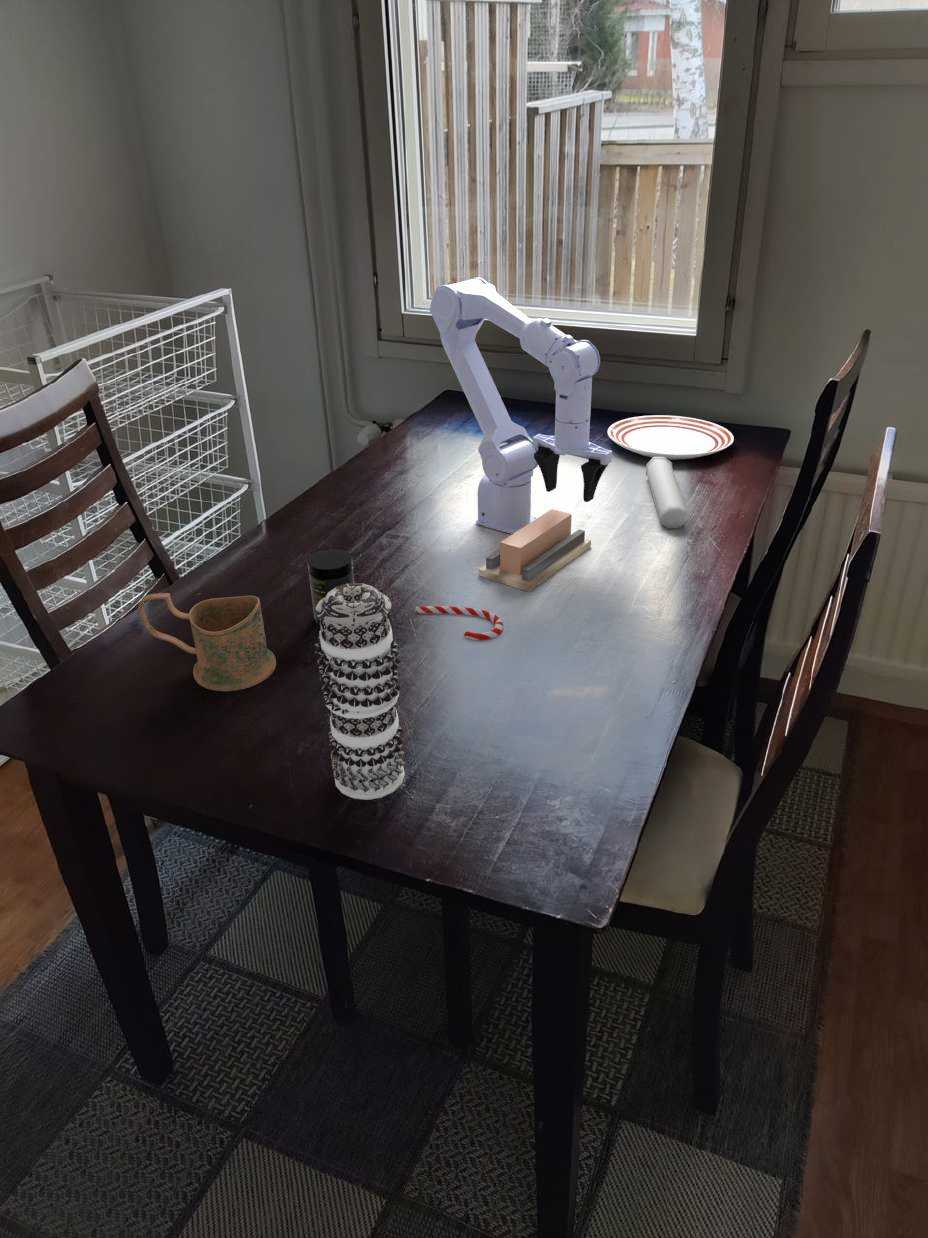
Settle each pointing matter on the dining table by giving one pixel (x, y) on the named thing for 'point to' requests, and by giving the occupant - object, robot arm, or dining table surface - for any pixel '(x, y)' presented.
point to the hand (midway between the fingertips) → (569, 494)
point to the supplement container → (328, 573)
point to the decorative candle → (361, 690)
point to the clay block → (534, 540)
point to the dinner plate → (670, 436)
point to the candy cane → (467, 611)
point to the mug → (223, 641)
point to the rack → (537, 563)
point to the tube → (666, 492)
